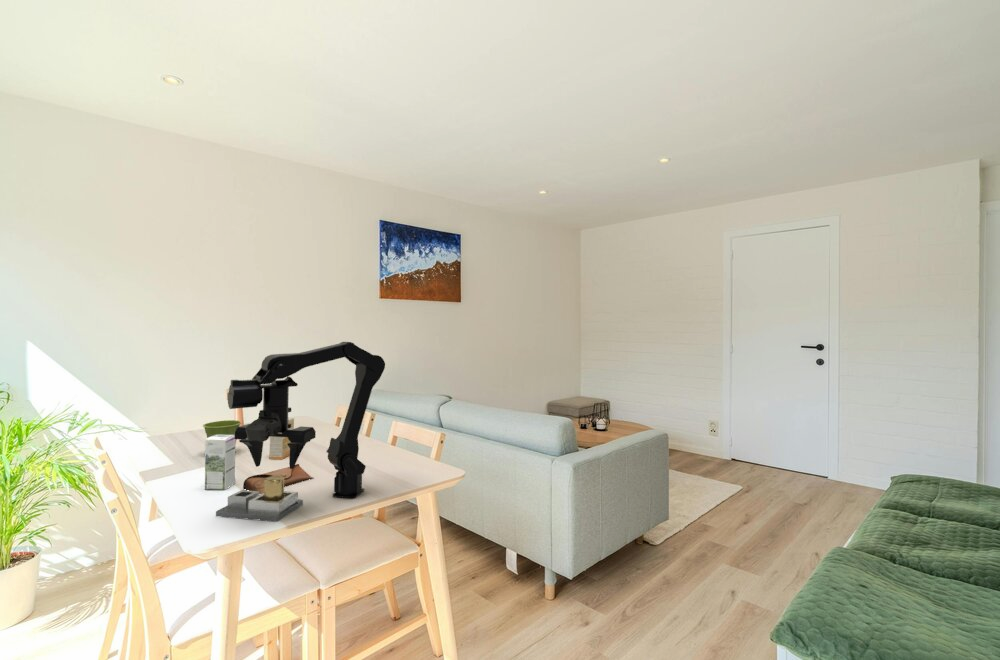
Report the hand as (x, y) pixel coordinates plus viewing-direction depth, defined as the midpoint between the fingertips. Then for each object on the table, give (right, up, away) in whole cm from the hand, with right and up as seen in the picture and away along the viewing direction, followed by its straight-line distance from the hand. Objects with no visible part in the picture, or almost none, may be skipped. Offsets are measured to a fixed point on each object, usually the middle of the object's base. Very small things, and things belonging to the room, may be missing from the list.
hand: (274, 467), depth 117 cm
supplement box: (-21, -11, +48) cm, 54 cm away
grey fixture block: (-4, -11, 0) cm, 11 cm away
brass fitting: (0, -10, 0) cm, 10 cm away
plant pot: (-42, -10, +48) cm, 65 cm away
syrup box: (-23, -11, +16) cm, 31 cm away
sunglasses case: (-8, -11, +20) cm, 25 cm away
